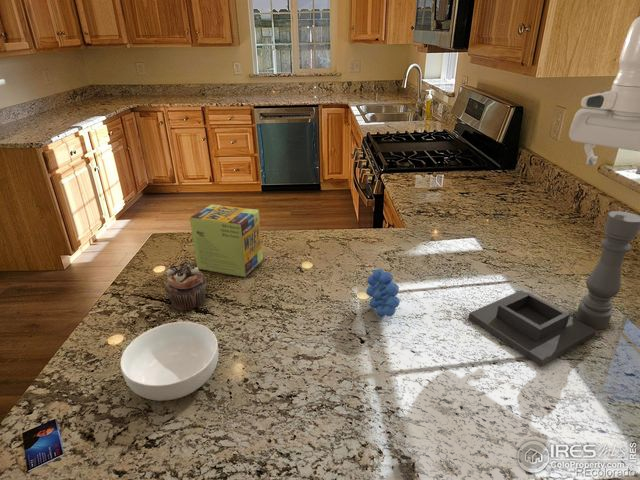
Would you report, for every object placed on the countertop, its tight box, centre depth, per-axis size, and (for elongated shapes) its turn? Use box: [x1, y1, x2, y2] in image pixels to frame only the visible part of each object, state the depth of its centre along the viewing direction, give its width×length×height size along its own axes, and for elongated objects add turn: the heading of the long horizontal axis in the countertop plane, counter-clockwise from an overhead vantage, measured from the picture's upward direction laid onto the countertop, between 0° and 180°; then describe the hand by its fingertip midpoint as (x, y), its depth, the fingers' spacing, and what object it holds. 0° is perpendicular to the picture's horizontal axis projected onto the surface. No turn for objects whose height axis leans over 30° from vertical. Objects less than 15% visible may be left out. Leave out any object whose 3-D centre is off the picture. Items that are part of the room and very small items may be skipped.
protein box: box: [189, 204, 264, 278], centre depth 116 cm, size 10×15×16 cm
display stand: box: [468, 289, 597, 367], centre depth 91 cm, size 18×18×4 cm
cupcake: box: [163, 261, 207, 311], centre depth 101 cm, size 10×10×10 cm
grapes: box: [365, 268, 401, 318], centre depth 94 cm, size 12×7×12 cm, turn 24°
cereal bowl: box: [119, 321, 220, 402], centre depth 78 cm, size 17×17×7 cm
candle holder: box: [575, 210, 640, 330], centre depth 89 cm, size 6×6×25 cm
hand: (614, 169), depth 89 cm, fingers open, 8 cm apart
